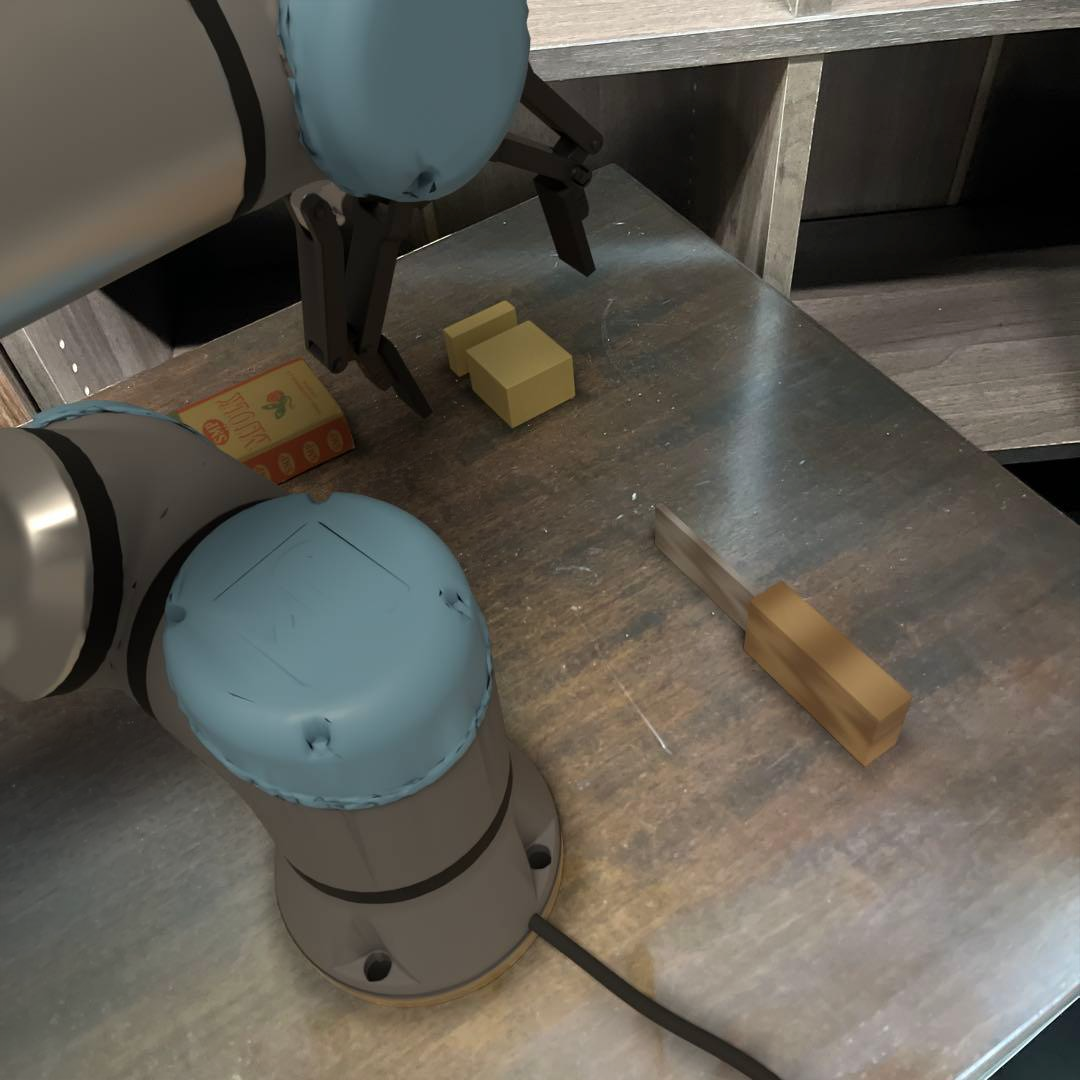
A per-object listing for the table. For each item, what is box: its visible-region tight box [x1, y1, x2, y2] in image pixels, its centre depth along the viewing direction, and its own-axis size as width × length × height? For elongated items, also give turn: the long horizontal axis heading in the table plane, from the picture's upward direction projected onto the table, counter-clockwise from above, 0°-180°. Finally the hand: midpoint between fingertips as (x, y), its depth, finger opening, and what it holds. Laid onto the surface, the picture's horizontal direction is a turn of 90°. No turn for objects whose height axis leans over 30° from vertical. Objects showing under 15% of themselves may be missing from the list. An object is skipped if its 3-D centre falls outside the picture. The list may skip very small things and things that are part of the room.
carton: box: [166, 356, 356, 485], centre depth 74 cm, size 8×16×4 cm, turn 122°
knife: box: [654, 502, 914, 767], centre depth 59 cm, size 20×2×5 cm, turn 34°
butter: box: [466, 319, 576, 429], centre depth 77 cm, size 6×6×4 cm
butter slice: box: [442, 300, 518, 378], centre depth 81 cm, size 2×6×4 cm, turn 124°
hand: (498, 333), depth 61 cm, fingers open, 13 cm apart
